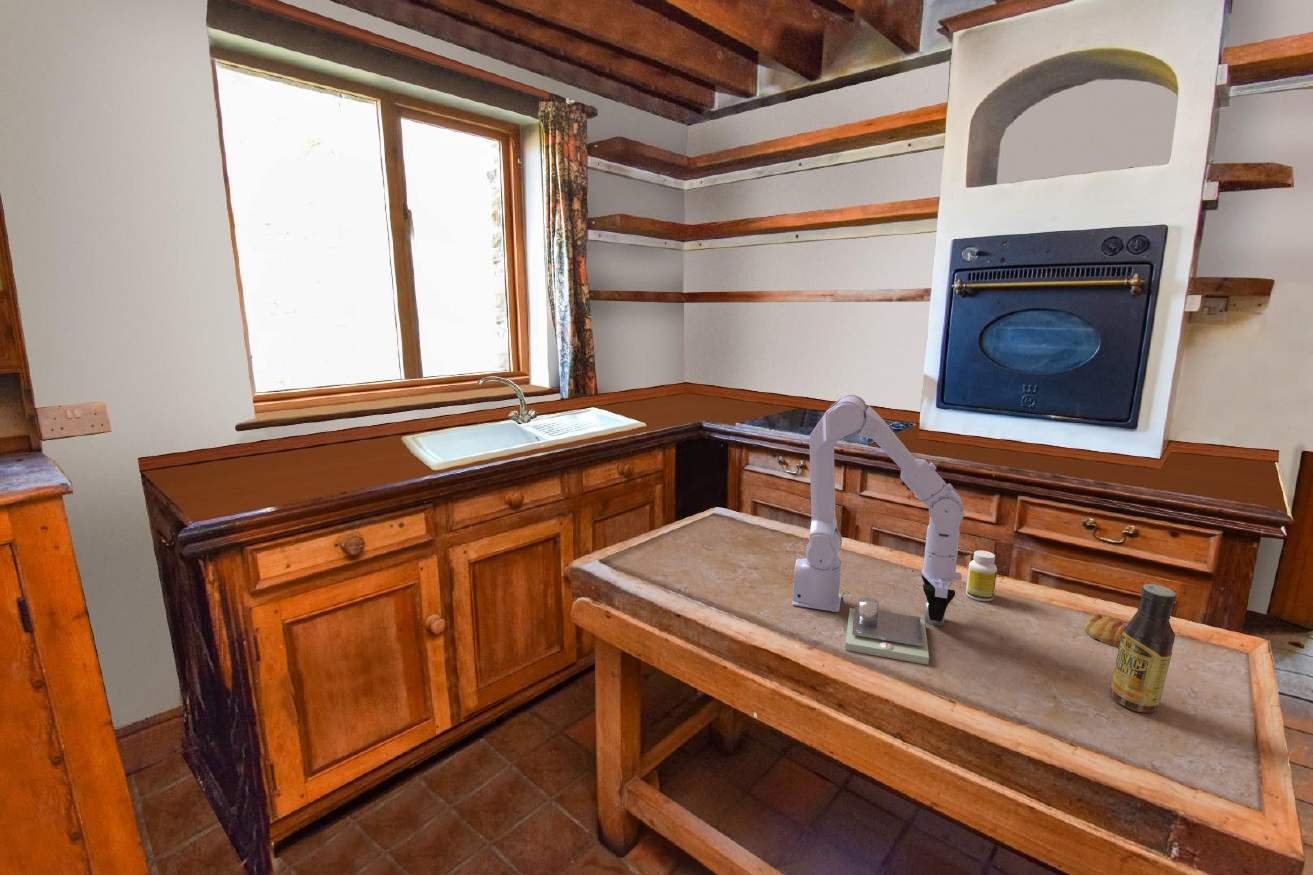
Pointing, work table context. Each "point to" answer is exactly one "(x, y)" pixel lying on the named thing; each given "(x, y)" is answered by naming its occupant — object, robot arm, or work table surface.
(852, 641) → the scale
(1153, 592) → the sauce bottle
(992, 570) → the supplement bottle
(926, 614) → the cylinder
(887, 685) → the work table surface
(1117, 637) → the pastry
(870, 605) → the cylinder
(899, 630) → the scale platform
